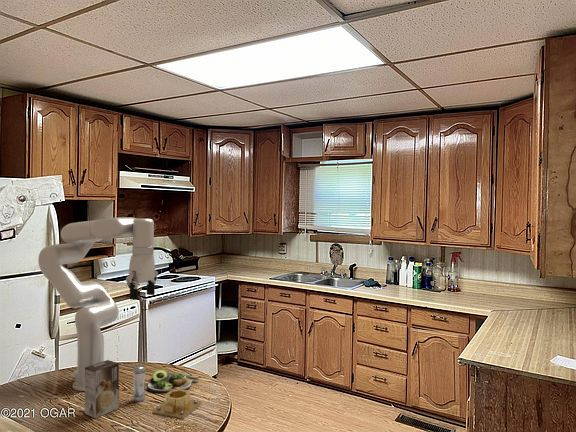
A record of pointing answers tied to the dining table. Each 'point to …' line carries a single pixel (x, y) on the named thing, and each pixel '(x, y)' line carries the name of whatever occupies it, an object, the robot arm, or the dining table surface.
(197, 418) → the dining table surface
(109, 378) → the coffee box
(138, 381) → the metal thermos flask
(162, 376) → the avocado toast plate
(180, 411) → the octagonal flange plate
